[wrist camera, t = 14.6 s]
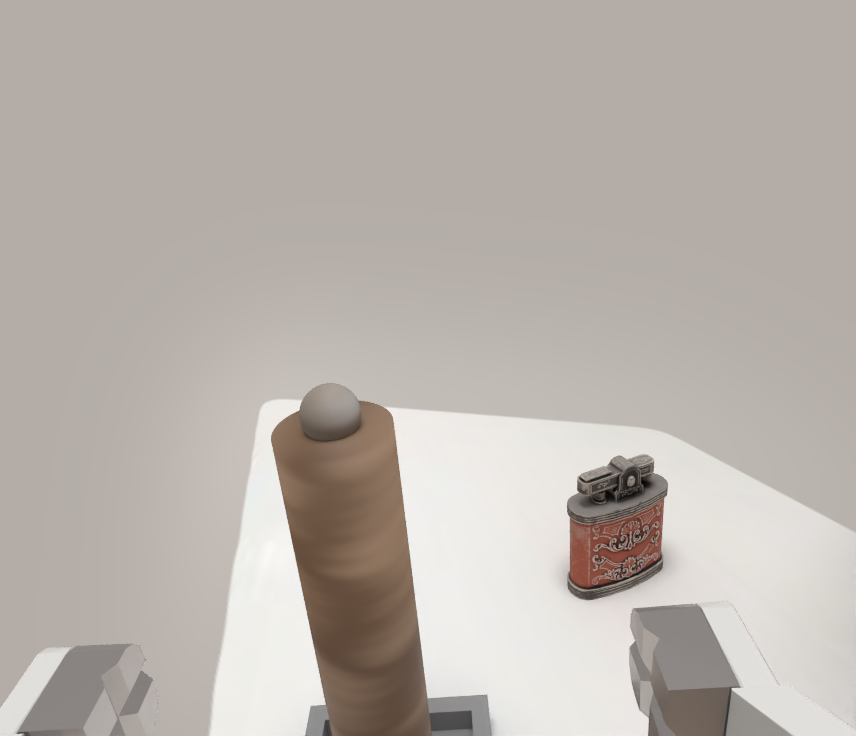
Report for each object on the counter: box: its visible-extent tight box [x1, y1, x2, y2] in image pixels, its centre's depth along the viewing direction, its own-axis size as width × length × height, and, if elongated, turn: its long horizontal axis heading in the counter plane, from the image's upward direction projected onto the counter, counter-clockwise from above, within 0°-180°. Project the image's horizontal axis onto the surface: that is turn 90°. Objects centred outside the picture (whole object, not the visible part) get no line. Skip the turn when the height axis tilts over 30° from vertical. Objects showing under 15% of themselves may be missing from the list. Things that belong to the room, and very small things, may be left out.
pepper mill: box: [271, 383, 432, 736], centre depth 30 cm, size 6×6×25 cm
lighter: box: [567, 454, 668, 600], centre depth 48 cm, size 8×3×10 cm, turn 113°
